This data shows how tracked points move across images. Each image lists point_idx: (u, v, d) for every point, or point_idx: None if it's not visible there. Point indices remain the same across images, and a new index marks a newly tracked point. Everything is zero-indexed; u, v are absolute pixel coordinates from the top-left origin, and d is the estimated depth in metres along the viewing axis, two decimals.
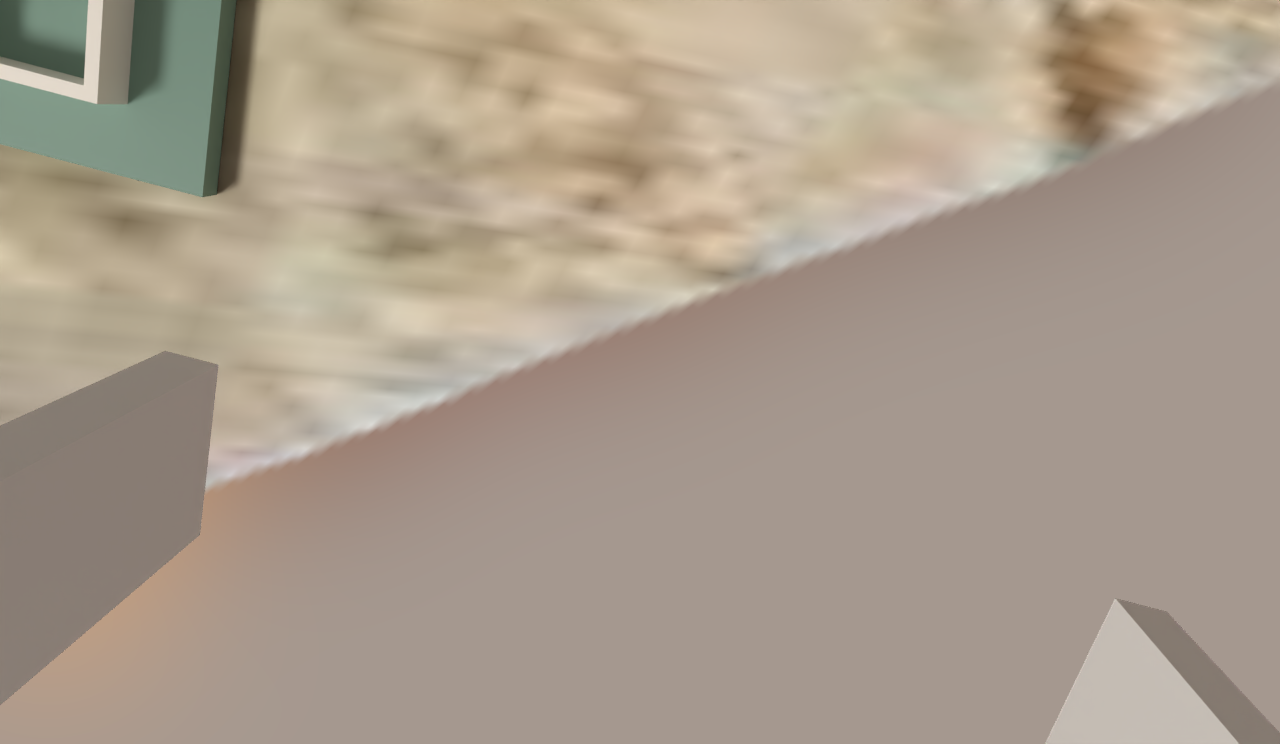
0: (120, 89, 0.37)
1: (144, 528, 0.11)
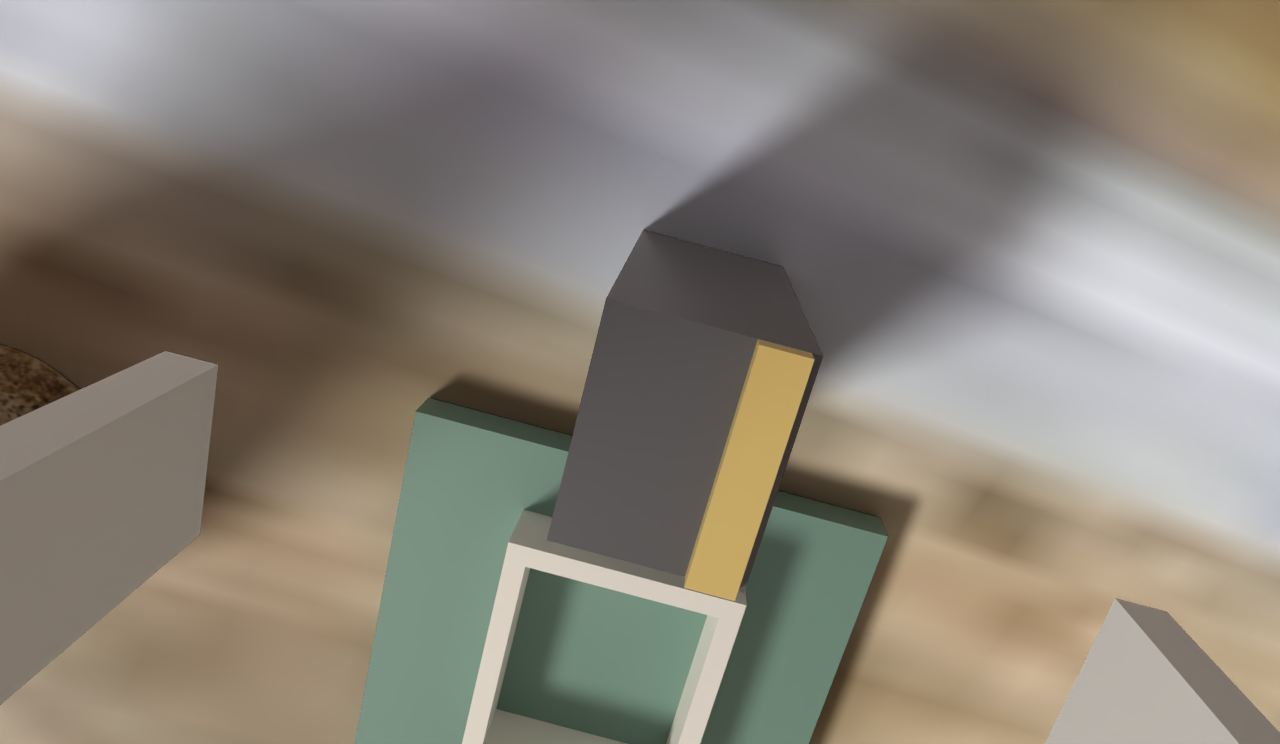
0: None
1: (144, 528, 0.11)
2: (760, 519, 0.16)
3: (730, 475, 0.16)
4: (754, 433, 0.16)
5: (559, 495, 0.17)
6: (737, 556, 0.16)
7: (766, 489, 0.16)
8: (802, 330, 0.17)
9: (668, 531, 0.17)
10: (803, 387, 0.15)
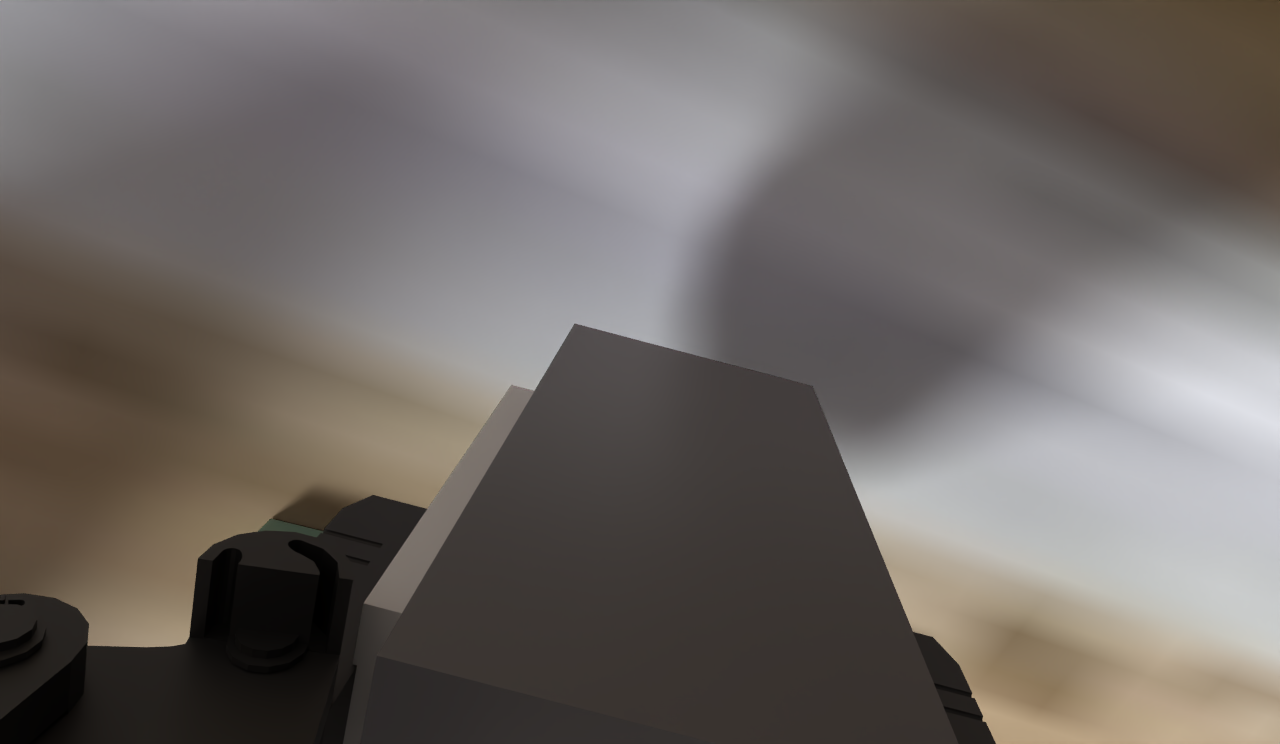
0: None
1: None
2: None
3: None
4: None
5: None
6: None
7: None
8: (900, 653, 0.07)
9: None
10: None
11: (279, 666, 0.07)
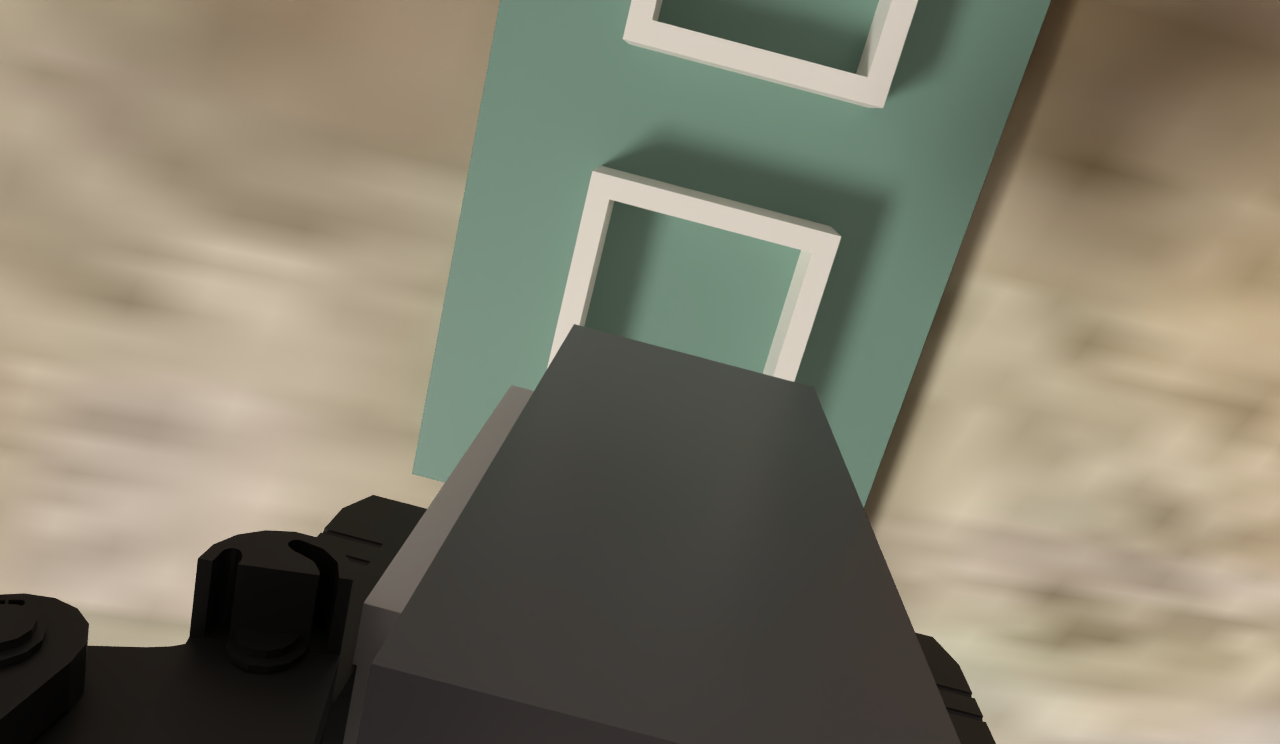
0: None
1: None
2: None
3: None
4: None
5: None
6: None
7: None
8: (904, 659, 0.07)
9: None
10: None
11: (279, 666, 0.07)
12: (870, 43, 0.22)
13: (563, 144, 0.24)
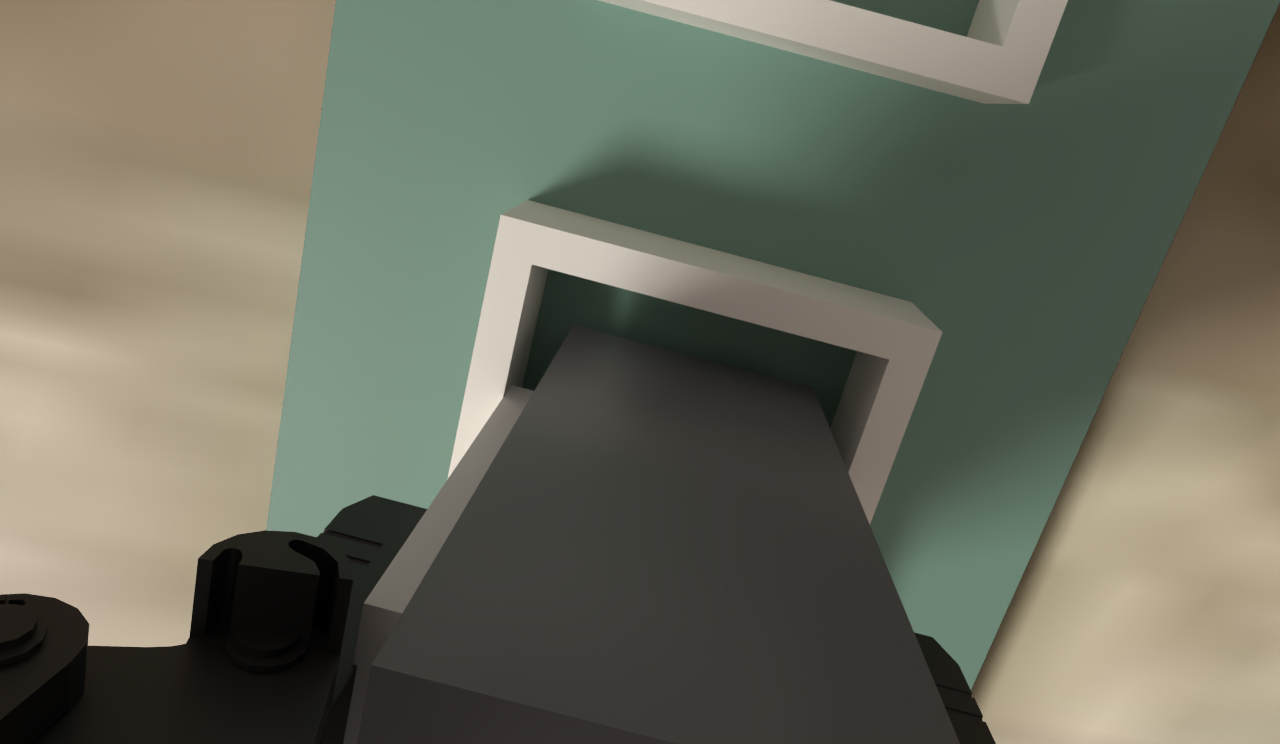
0: None
1: None
2: None
3: None
4: None
5: None
6: None
7: None
8: (903, 660, 0.07)
9: None
10: None
11: (279, 666, 0.07)
12: None
13: (463, 164, 0.14)
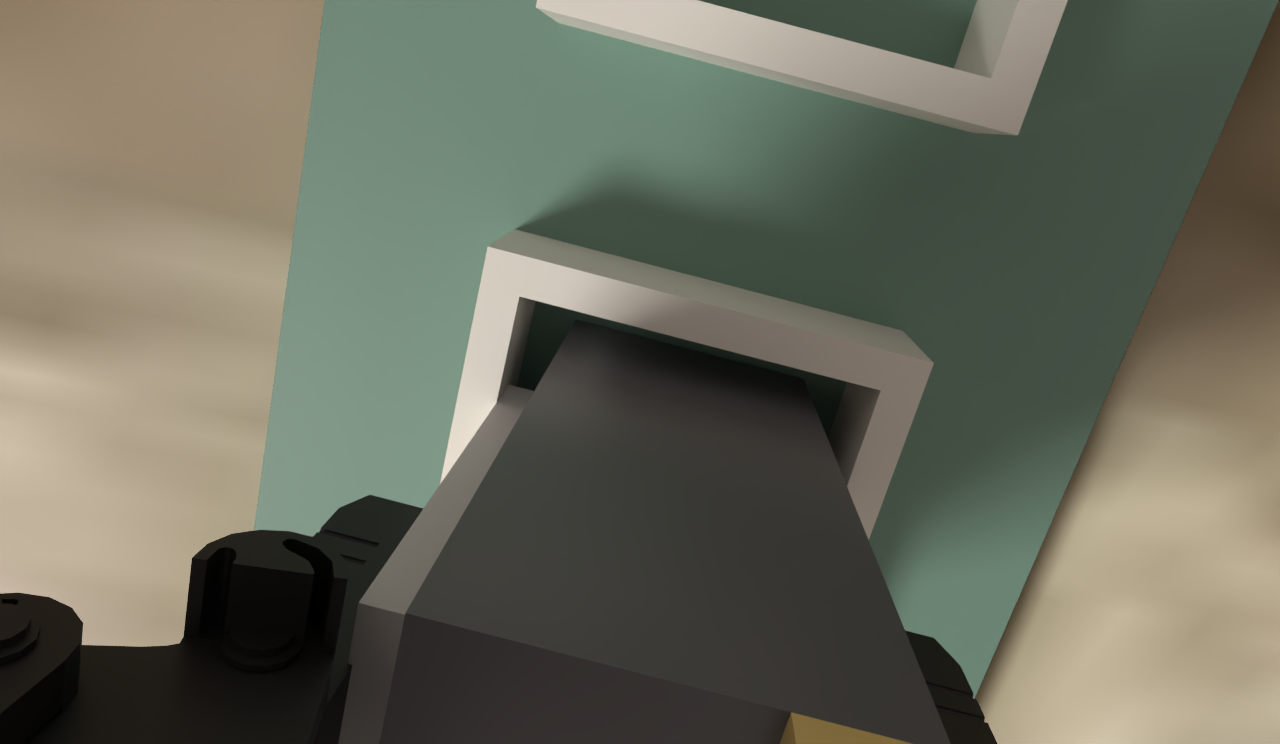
0: None
1: None
2: None
3: None
4: None
5: None
6: None
7: None
8: (880, 618, 0.08)
9: None
10: None
11: (274, 666, 0.07)
12: (986, 18, 0.12)
13: (450, 193, 0.14)
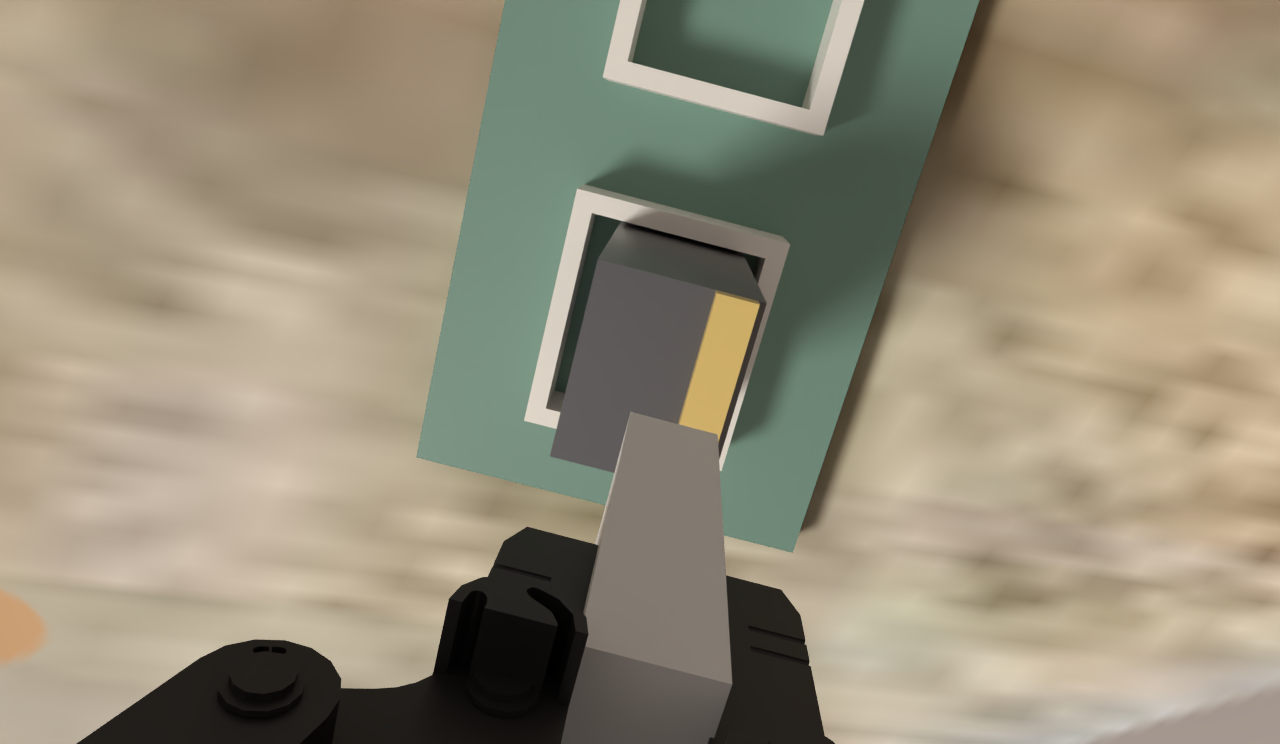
0: None
1: None
2: (719, 433, 0.20)
3: (696, 398, 0.20)
4: (714, 363, 0.20)
5: (560, 419, 0.21)
6: None
7: (723, 409, 0.20)
8: (752, 287, 0.21)
9: None
10: (751, 326, 0.20)
11: (515, 712, 0.07)
12: (812, 81, 0.26)
13: (551, 166, 0.28)
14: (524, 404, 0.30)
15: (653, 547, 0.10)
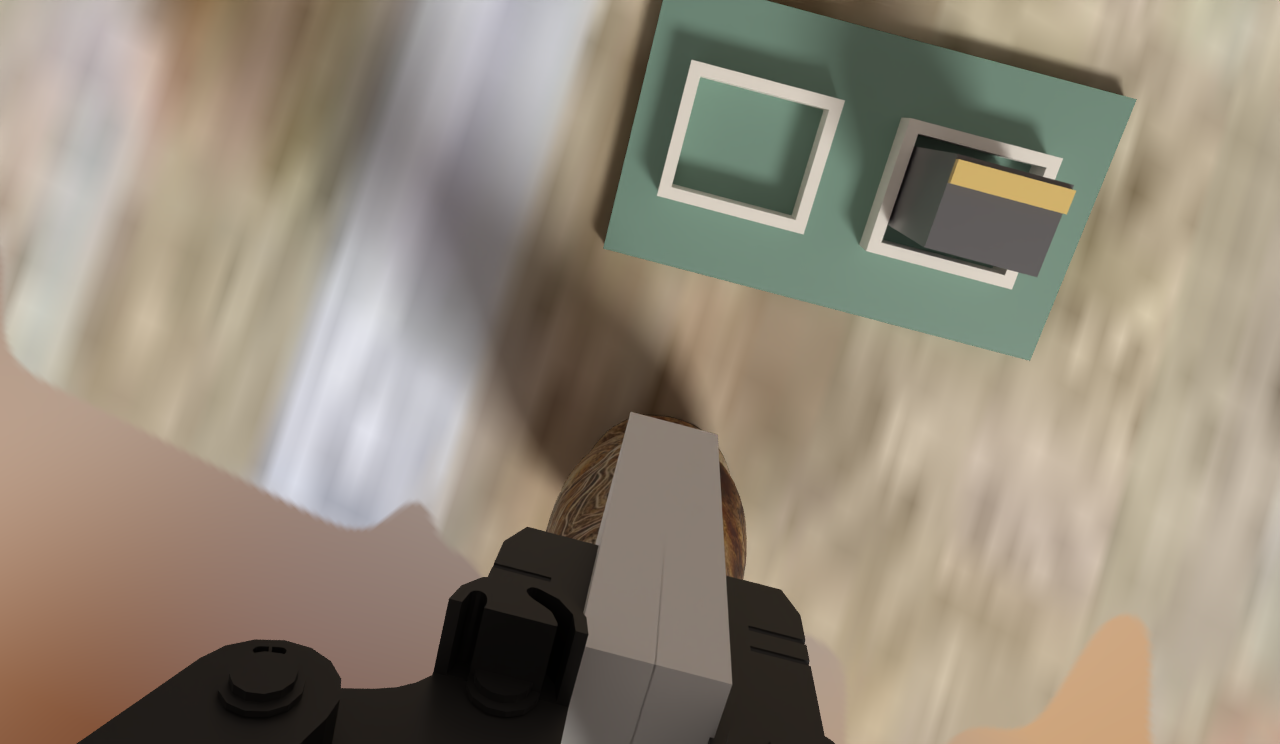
0: None
1: None
2: (1034, 179, 0.35)
3: (1010, 194, 0.36)
4: (990, 184, 0.36)
5: (1014, 270, 0.37)
6: (1052, 190, 0.36)
7: (1019, 178, 0.35)
8: (945, 156, 0.37)
9: (1037, 221, 0.36)
10: (971, 163, 0.35)
11: (514, 712, 0.07)
12: (809, 105, 0.43)
13: (846, 264, 0.46)
14: (999, 288, 0.46)
15: (653, 547, 0.10)
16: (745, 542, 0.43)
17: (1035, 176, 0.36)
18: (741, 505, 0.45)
